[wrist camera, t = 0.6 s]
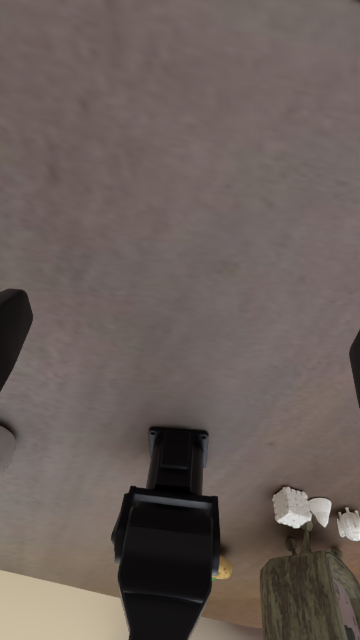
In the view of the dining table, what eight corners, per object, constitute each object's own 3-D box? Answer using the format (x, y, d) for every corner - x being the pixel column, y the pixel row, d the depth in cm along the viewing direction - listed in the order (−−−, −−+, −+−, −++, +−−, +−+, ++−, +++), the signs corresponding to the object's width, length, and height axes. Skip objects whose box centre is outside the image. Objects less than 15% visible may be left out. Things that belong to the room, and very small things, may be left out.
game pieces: (271, 495, 41) (274, 522, 39) (285, 483, 40) (290, 511, 37) (349, 520, 43) (358, 547, 41) (367, 510, 41) (377, 538, 39)
